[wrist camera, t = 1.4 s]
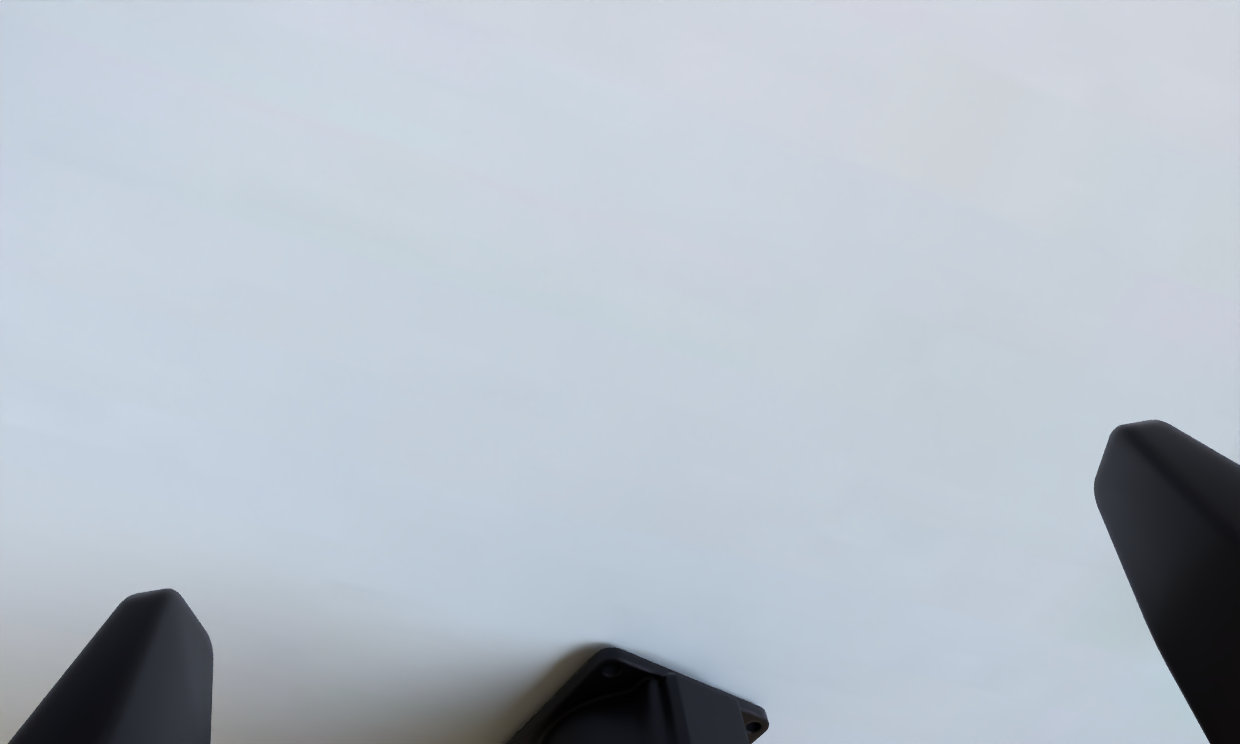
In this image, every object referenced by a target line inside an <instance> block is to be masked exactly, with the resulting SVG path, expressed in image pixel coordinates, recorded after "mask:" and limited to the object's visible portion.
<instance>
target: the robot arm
mask: <svg viewBox="0 0 1240 744" xmlns="http://www.w3.org/2000/svg"><path fill="white" fill-rule="evenodd" d="M1094 494H1095V499H1096V503H1097V506H1098V509H1099V511H1100V513H1101V516H1102V518H1103V521H1104V523H1105V525H1106V528H1107V530H1108V533H1109V535H1110V537H1111V540H1112V542H1113V545H1114V547H1115V549H1116V552H1117V554H1118V557H1119V559H1120V561H1121V564H1122V566H1123V569H1124V571H1125V573H1126V576H1127V578H1128V581H1129V583H1130V585H1131V588H1132V590H1133V593H1134V595H1135V597H1136V600H1137V602H1138V605H1139V607H1140V609H1141V612H1142V614H1143V617H1144V619H1145V621H1146V624H1147V626H1148V628H1149V630H1150V632H1151V635H1152V637H1153V639H1154V641H1155V643H1156V645H1157V647H1158V649H1159V651H1160V653H1161V655H1162V657H1163V659H1164V661H1165V663H1166V665H1167V666H1168V668H1169V670H1170V672H1171V674H1172V676H1173V677H1174V679H1175V681H1176V683H1177V685H1178V686H1179V688H1180V690H1181V692H1182V694H1183V695H1184V697H1185V699H1186V701H1187V703H1188V704H1189V706H1190V708H1191V710H1192V712H1193V713H1194V715H1195V717H1196V719H1197V721H1198V723H1199V724H1200V726H1201V728H1202V730H1203V732H1204V733H1205V735H1206V737H1207V739H1208V741H1209V742H1210V744H1240V465H1238V464H1237V463H1235V462H1233V461H1232V460H1230V459H1228V458H1226V457H1225V456H1223V455H1221V454H1220V453H1218V452H1216V451H1214V450H1213V449H1211V448H1209V447H1208V446H1206V445H1204V444H1202V443H1201V442H1199V441H1197V440H1196V439H1194V438H1192V437H1191V436H1189V435H1187V434H1185V433H1184V432H1182V431H1180V430H1179V429H1177V428H1175V427H1173V426H1172V425H1170V424H1168V423H1166V422H1163V421H1160V420H1147V421H1142V422H1136V423H1130V424H1124V425H1120V426H1118V427H1117V428H1115V429H1114V430H1113V431H1112V433H1111V435H1110V437H1109V440H1108V443H1107V446H1106V448H1105V451H1104V454H1103V457H1102V460H1101V463H1100V466H1099V469H1098V472H1097V474H1096V477H1095V482H1094ZM611 664H613V665H611ZM212 683H213V649H212V644H211V641H210V638H209V636H208V634H207V632H206V631H205V629H204V628H203V626H202V625H201V623H200V622H199V621H198V619H197V618H196V616H195V615H194V613H193V612H192V610H191V609H190V608H189V606H188V605H187V603H186V602H185V600H184V599H183V598H182V596H181V595H180V594H179V593H178V592H177V591H175V590H173V589H160V590H155V591H149V592H143V593H137V594H134V595H131V596H129V597H127V598H126V599H125V600H124V601H122V602H121V603H120V604H119V606H118V607H117V608H116V609H115V611H114V612H113V613H112V614H111V616H110V617H109V618H108V619H107V621H106V622H105V623H104V624H103V626H102V627H101V628H100V629H99V631H98V632H97V633H96V634H95V635H94V637H93V638H92V639H91V640H90V642H89V643H88V644H87V645H86V647H85V648H84V649H83V650H82V652H81V653H80V654H79V655H78V657H77V658H76V659H75V660H74V662H73V663H72V664H71V665H70V667H69V668H68V669H67V670H66V672H65V673H64V674H63V675H62V677H61V678H60V679H59V680H58V682H57V683H56V684H55V685H54V687H53V688H52V689H51V690H50V692H49V693H48V694H47V695H46V697H45V698H44V699H43V700H42V702H41V703H40V704H39V705H38V707H37V708H36V709H35V710H34V712H33V713H32V714H31V715H30V717H29V718H28V719H27V720H26V722H25V723H24V724H23V725H22V727H21V728H20V729H19V730H18V732H17V733H16V734H15V735H14V737H13V738H12V739H11V740H10V741H9V743H8V744H210V741H211V712H212ZM768 727H769V722H768V719H767V715H766V712H765V710H764V709H763V708H761V707H759V706H757V705H754V704H752V703H750V702H747V701H745V700H742V699H740V698H738V697H735V696H733V695H730V694H728V693H725V692H723V691H721V690H718V689H716V688H713V687H711V686H709V685H706V684H704V683H701V682H699V681H697V680H694V679H692V678H689V677H687V676H684V675H682V674H680V673H677V672H675V671H672V670H670V669H668V668H665V667H663V666H660V665H658V664H655V663H653V662H651V661H648V660H646V659H643V658H641V657H639V656H636V655H634V654H631V653H629V652H627V651H624V650H622V649H619V648H606V649H603V650H600V651H599V652H598V653H596V654H595V655H594V656H593V657H592V658H591V659H590V660H589V661H588V662H587V663H586V664H585V665H584V666H583V667H582V668H581V669H580V670H579V671H578V672H577V673H576V674H575V675H574V676H573V677H572V678H571V679H570V680H569V681H568V682H567V683H566V684H565V685H564V686H563V687H562V688H561V689H560V691H559V692H558V693H557V694H556V695H555V696H554V697H553V698H552V699H551V700H550V701H549V702H548V703H547V704H546V705H545V706H544V707H543V708H542V709H541V710H540V711H539V712H538V713H537V714H536V715H535V716H534V717H533V718H532V719H531V720H530V721H529V722H528V723H527V724H526V725H525V726H524V727H523V728H522V729H521V730H520V731H519V732H518V733H517V734H516V735H515V736H514V737H513V738H512V739H511V740H510V741H509V742H508V743H507V744H752V743H753V742H754V741H755V740H756V739H757V738H759V737H760V736H761V735H762V734H763V733H764V732H765V731H766V730H767V729H768Z"/></svg>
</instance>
